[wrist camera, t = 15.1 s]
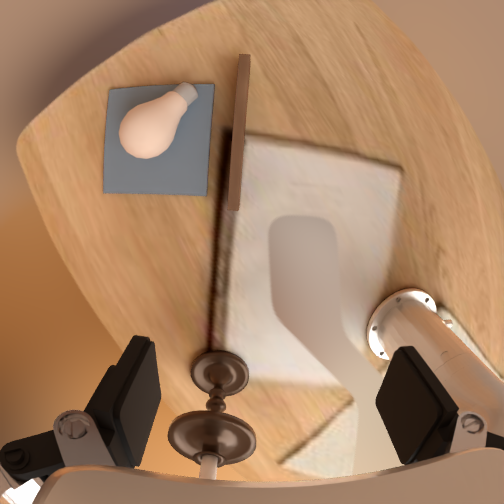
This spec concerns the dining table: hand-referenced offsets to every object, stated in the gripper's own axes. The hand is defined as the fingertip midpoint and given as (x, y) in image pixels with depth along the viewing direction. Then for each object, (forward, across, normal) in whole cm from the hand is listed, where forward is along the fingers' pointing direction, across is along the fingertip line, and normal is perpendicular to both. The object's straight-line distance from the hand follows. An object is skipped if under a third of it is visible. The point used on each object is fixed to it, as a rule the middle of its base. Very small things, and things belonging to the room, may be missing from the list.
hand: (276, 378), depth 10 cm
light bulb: (+28, +12, -12) cm, 33 cm away
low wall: (+28, +3, -11) cm, 31 cm away
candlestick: (+28, +4, +24) cm, 37 cm away
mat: (+28, +14, -10) cm, 33 cm away
